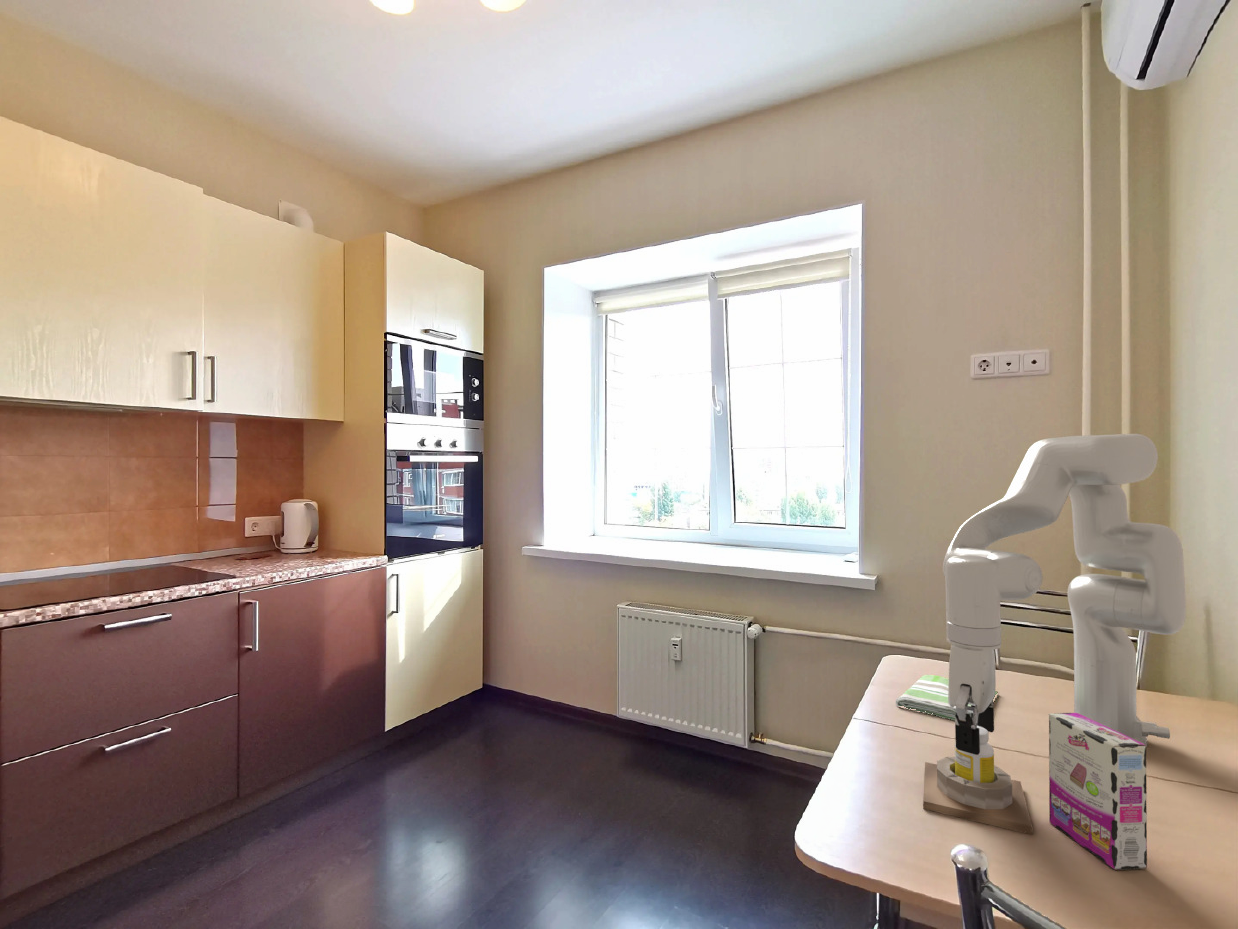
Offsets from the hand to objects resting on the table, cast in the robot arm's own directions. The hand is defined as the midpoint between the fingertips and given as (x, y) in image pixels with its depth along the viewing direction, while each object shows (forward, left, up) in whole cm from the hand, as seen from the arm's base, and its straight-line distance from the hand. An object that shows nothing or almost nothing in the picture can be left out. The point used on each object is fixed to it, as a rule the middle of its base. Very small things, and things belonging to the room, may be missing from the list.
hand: (975, 740), depth 96 cm
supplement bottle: (0, 0, -8) cm, 8 cm away
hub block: (0, +1, -9) cm, 9 cm away
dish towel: (+3, -44, -10) cm, 45 cm away
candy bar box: (-14, +6, -9) cm, 18 cm away
